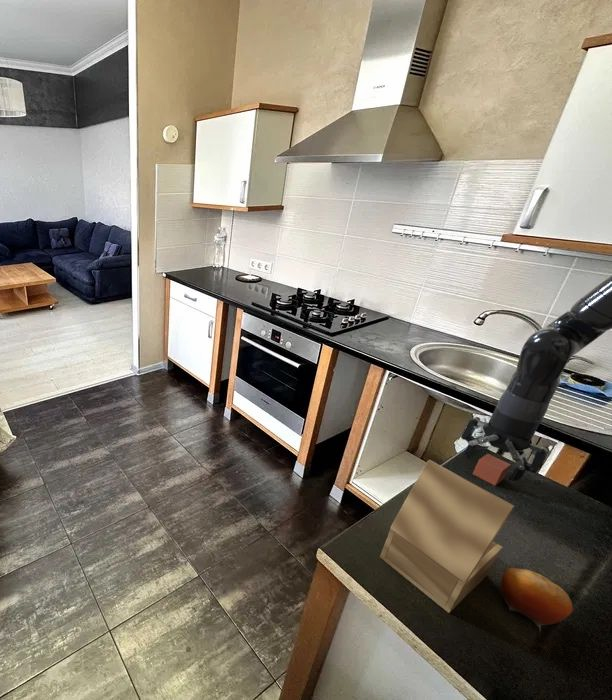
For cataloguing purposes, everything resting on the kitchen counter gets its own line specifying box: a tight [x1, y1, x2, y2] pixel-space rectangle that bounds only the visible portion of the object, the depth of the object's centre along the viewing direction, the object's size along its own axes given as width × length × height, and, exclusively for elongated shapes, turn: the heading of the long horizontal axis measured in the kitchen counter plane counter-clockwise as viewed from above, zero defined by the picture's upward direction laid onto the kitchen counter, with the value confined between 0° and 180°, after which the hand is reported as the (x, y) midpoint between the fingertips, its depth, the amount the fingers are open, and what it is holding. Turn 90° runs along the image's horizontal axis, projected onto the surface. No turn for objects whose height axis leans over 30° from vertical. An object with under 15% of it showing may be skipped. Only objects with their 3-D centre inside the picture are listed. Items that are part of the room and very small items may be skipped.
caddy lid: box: [390, 459, 516, 583], centre depth 61 cm, size 14×12×1 cm
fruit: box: [500, 567, 574, 633], centre depth 61 cm, size 8×8×8 cm
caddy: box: [379, 528, 504, 614], centre depth 68 cm, size 14×12×7 cm
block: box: [472, 453, 512, 486], centre depth 90 cm, size 4×4×4 cm
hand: (490, 467), depth 90 cm, fingers open, 8 cm apart
